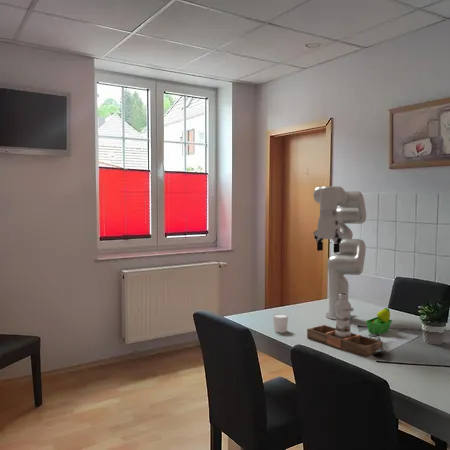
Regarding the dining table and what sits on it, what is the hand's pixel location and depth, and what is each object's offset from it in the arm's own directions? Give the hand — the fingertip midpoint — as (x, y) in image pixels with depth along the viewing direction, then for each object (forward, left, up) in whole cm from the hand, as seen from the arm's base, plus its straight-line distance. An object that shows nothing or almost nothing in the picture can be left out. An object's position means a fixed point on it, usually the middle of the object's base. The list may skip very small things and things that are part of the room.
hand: (328, 251), depth 209 cm
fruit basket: (-17, +16, -37) cm, 43 cm away
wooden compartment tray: (+11, +18, -36) cm, 42 cm away
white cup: (+18, -12, -36) cm, 42 cm away
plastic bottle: (+11, +18, -35) cm, 41 cm away
